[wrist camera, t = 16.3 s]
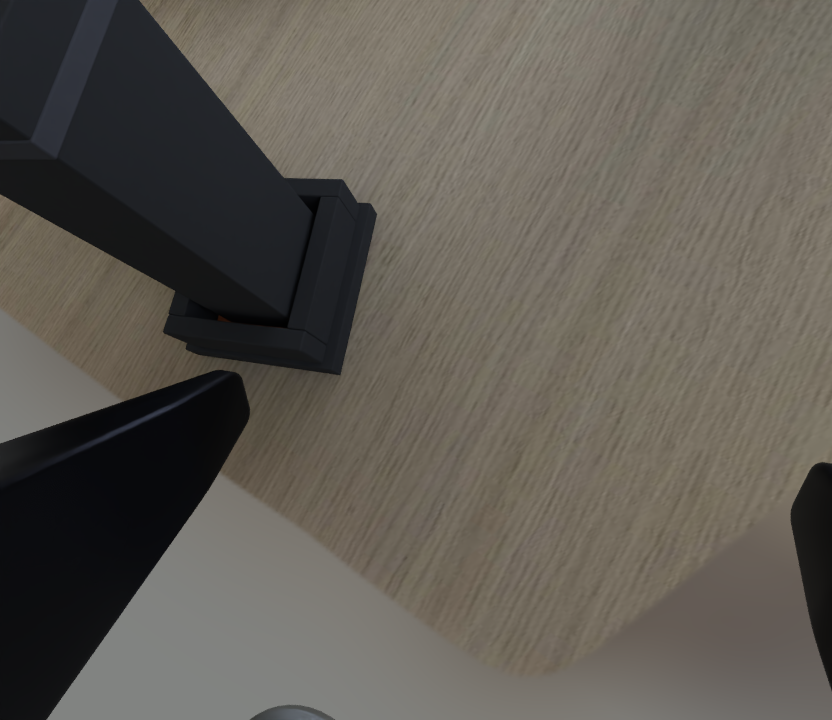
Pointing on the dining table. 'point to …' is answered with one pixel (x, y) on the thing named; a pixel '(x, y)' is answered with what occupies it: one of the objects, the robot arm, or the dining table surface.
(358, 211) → the dock
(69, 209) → the tall black lidded box
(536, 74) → the dining table surface
